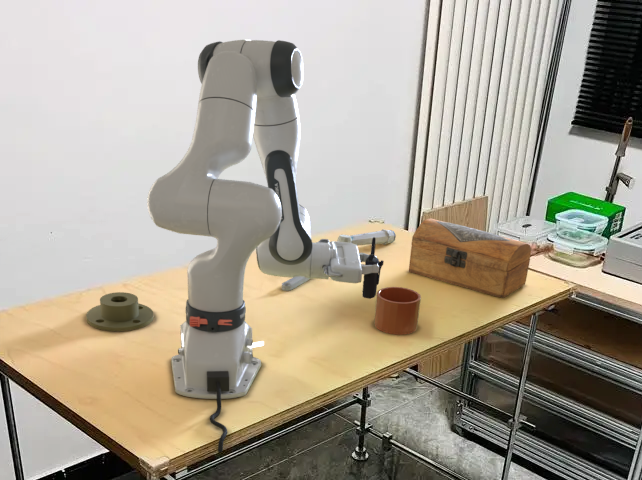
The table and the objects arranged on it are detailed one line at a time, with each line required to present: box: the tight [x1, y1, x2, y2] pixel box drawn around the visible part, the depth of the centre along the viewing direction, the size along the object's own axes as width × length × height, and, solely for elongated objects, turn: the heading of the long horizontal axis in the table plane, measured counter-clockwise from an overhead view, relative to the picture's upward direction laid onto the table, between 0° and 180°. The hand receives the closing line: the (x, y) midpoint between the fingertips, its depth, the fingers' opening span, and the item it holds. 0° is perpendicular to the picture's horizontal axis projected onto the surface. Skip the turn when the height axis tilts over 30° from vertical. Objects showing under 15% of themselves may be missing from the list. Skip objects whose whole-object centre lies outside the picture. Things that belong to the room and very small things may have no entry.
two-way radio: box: [361, 237, 384, 300], centre depth 201 cm, size 6×4×15 cm
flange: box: [85, 291, 154, 332], centre depth 186 cm, size 5×15×15 cm
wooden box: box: [408, 217, 532, 299], centre depth 224 cm, size 30×16×14 cm, turn 55°
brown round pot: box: [373, 286, 422, 336], centre depth 193 cm, size 10×10×8 cm
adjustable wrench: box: [281, 276, 311, 292], centre depth 220 cm, size 25×6×2 cm, turn 147°
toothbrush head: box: [336, 228, 397, 247], centre depth 242 cm, size 5×7×25 cm
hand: (377, 264), depth 201 cm, fingers closed on two-way radio, 5 cm apart
